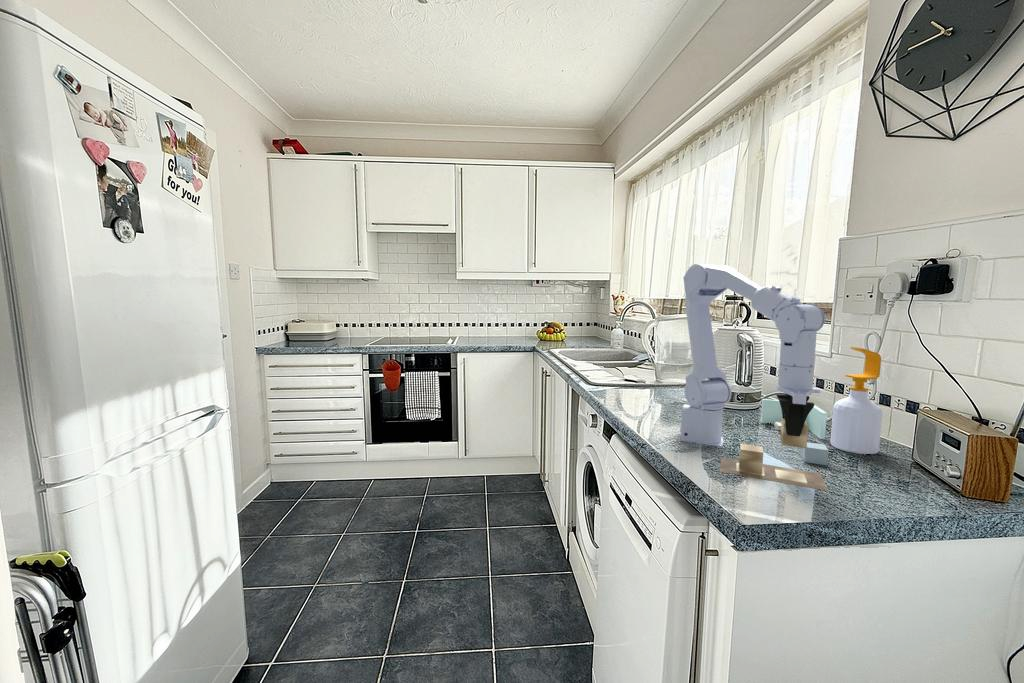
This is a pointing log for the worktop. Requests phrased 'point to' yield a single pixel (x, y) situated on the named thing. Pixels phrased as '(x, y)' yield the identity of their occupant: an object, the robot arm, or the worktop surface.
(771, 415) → the right angle wall
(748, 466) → the pillar
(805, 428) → the tan wooden cube
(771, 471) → the board
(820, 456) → the slate grey cube
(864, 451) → the soap bottle
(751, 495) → the worktop surface
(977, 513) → the worktop surface
